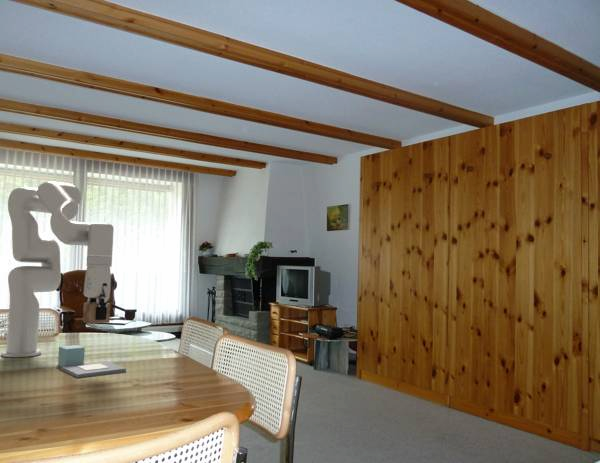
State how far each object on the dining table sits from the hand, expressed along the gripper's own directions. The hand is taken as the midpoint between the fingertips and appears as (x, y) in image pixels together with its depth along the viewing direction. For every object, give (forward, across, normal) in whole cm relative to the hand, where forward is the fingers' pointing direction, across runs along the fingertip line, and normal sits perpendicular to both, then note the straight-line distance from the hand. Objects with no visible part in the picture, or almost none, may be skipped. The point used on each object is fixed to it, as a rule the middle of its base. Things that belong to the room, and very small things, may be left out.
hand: (96, 318), depth 163 cm
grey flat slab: (+16, 0, 0) cm, 16 cm away
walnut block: (+1, 0, 0) cm, 1 cm away
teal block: (+16, -12, -2) cm, 21 cm away
